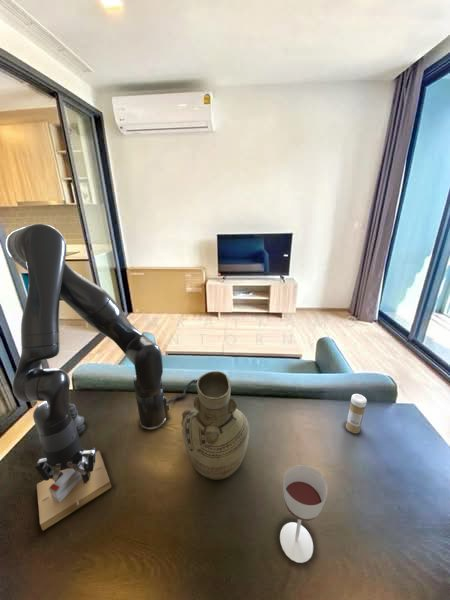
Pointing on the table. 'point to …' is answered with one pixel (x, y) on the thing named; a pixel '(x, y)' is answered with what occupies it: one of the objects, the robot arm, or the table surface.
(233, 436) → the ceramic vessel
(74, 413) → the grey stone statuette
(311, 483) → the wineglass
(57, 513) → the base
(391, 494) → the table surface
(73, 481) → the white rectangular block
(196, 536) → the table surface
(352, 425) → the sprinkles bottle
